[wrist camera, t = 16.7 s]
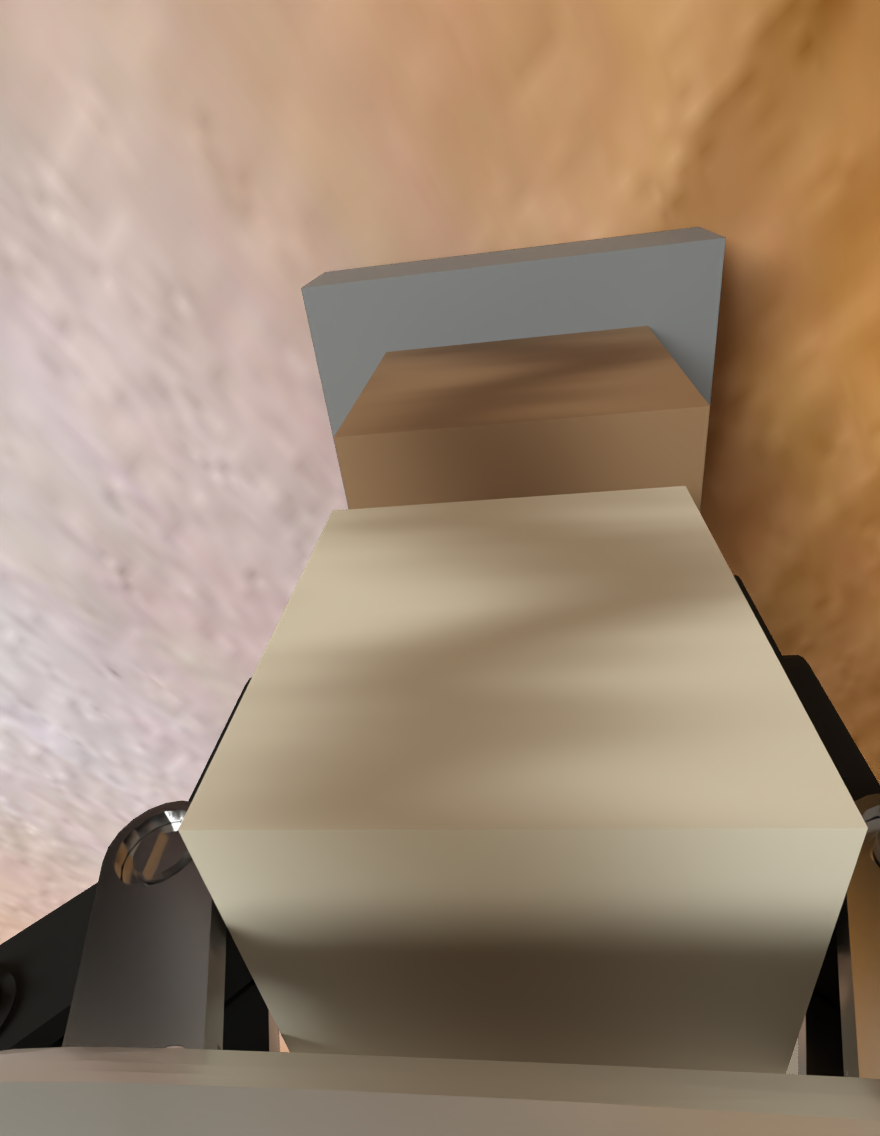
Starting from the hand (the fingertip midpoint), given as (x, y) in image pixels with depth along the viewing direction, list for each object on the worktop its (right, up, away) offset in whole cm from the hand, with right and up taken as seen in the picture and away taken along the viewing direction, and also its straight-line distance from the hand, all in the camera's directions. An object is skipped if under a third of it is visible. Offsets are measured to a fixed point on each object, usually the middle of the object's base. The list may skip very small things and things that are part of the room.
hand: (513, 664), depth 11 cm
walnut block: (+1, +5, +7) cm, 9 cm away
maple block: (0, 0, +1) cm, 1 cm away
